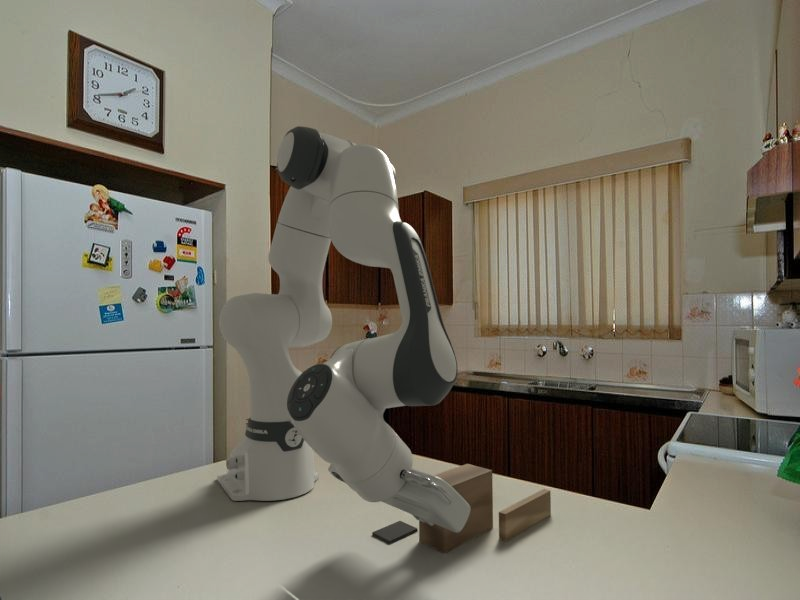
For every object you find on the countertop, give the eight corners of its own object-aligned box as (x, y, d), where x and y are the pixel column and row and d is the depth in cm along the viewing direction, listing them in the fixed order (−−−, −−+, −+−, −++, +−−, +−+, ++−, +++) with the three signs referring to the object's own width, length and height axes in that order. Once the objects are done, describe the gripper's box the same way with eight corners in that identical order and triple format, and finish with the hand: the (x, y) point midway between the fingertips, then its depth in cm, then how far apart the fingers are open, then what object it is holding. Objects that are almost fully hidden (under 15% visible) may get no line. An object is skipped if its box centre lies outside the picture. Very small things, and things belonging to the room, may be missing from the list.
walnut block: (419, 541, 68) (419, 480, 69) (468, 517, 77) (467, 463, 77) (444, 553, 65) (444, 489, 65) (492, 527, 73) (492, 470, 74)
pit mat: (372, 534, 71) (372, 532, 71) (399, 523, 75) (399, 520, 75) (389, 543, 68) (389, 541, 68) (417, 530, 72) (417, 528, 72)
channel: (438, 514, 78) (438, 491, 78) (485, 493, 88) (485, 472, 88) (505, 541, 68) (505, 514, 69) (550, 514, 78) (550, 490, 78)
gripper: (449, 460, 55) (496, 520, 61) (345, 431, 69) (392, 482, 75) (424, 509, 51) (477, 566, 57) (320, 468, 66) (371, 517, 72)
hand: (428, 518), depth 67 cm, fingers closed, pressing on walnut block
